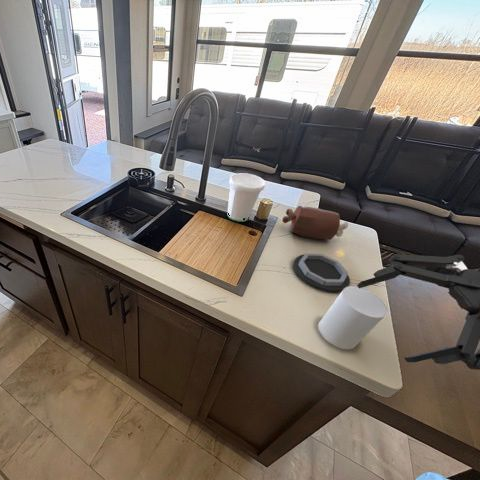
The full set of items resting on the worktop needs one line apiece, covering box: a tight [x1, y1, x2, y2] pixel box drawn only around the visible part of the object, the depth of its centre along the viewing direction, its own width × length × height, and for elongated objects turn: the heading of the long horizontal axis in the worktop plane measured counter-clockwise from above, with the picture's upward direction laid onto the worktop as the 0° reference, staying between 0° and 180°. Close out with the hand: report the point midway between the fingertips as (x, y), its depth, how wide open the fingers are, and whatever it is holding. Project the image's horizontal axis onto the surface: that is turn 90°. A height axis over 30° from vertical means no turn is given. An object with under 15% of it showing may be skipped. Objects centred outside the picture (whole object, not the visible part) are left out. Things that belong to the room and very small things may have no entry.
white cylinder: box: [318, 285, 389, 350], centre depth 57 cm, size 8×8×12 cm
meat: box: [281, 205, 349, 241], centre depth 89 cm, size 20×12×10 cm, turn 70°
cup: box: [226, 172, 267, 223], centre depth 96 cm, size 12×12×15 cm
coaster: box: [292, 252, 351, 294], centre depth 76 cm, size 15×15×3 cm
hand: (382, 319), depth 46 cm, fingers open, 13 cm apart
